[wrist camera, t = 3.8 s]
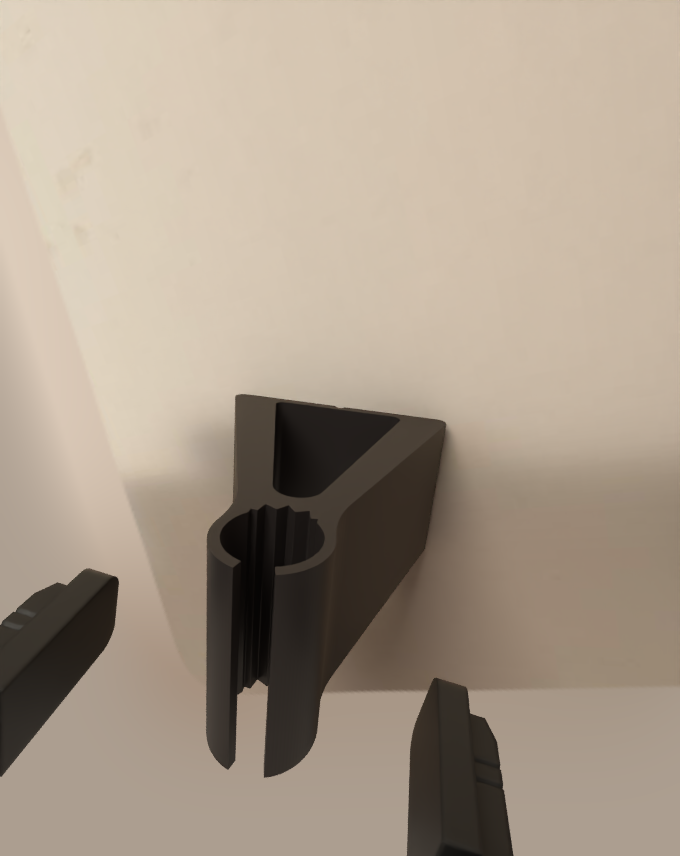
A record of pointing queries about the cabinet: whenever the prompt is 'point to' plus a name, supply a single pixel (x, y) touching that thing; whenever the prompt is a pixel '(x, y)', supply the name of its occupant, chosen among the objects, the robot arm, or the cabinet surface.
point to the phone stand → (308, 556)
